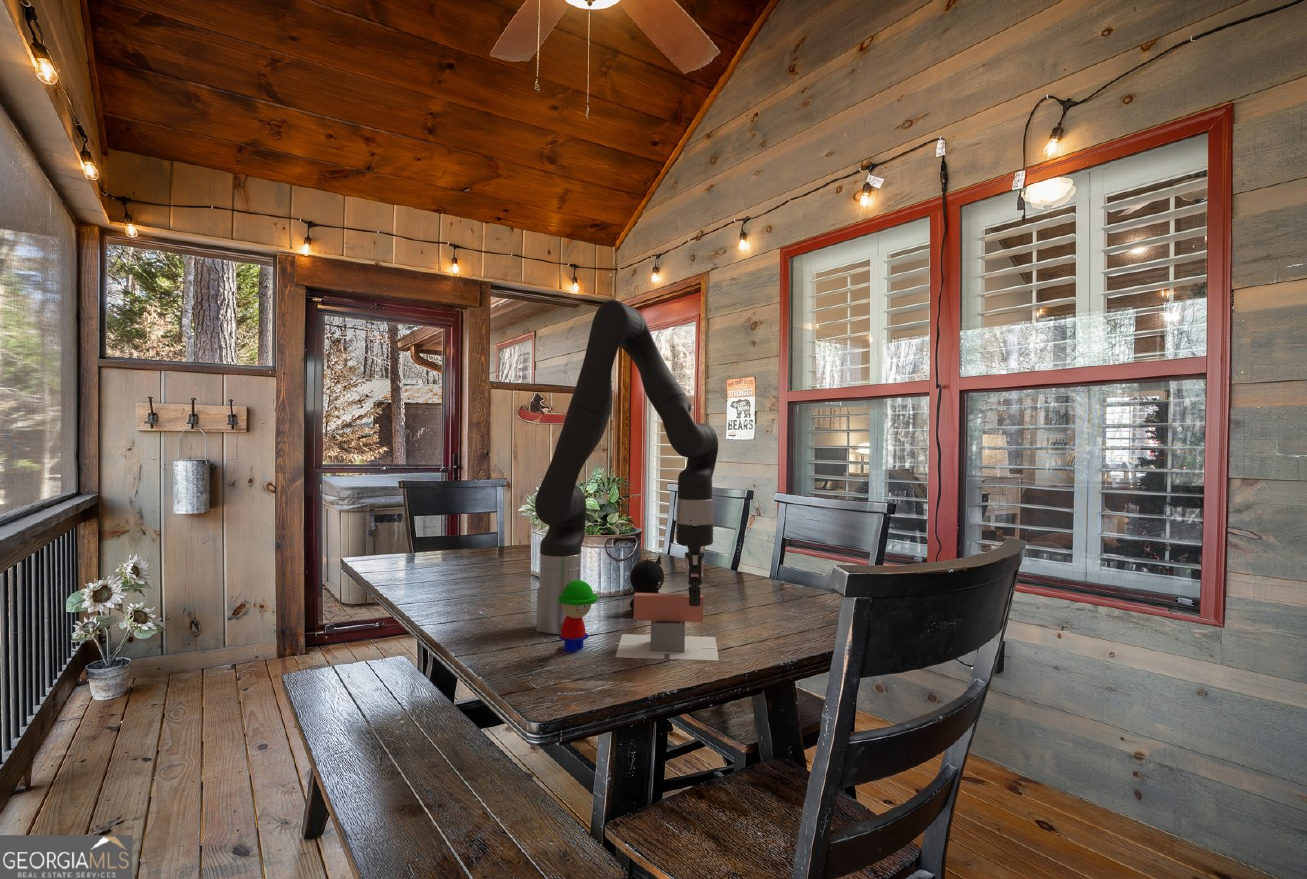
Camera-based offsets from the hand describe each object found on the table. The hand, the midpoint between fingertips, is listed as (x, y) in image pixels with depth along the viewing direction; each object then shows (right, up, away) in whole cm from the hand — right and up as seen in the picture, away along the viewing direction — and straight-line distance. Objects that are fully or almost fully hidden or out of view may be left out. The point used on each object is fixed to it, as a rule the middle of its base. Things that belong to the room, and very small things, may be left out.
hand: (694, 600), depth 134 cm
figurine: (-7, -11, +31) cm, 34 cm away
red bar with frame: (-5, -9, 0) cm, 11 cm away
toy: (-24, -11, -3) cm, 26 cm away
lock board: (-5, -11, 0) cm, 12 cm away
